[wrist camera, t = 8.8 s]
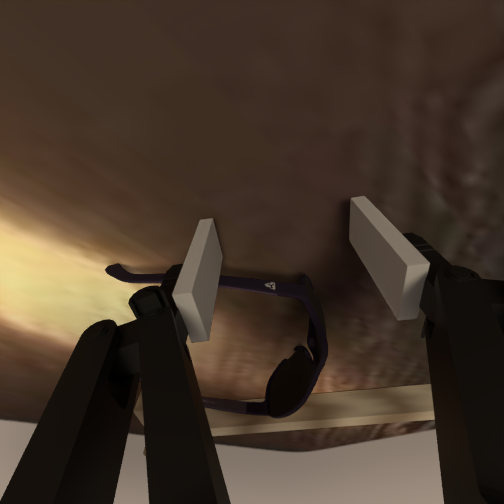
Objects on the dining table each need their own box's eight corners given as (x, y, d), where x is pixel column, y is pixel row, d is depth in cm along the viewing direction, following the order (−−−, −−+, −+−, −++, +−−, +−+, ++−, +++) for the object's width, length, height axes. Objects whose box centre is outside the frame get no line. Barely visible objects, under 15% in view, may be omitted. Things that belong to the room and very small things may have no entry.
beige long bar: (159, 416, 30) (147, 459, 26) (140, 385, 27) (124, 429, 23) (473, 390, 27) (505, 434, 24) (491, 352, 24) (530, 397, 21)
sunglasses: (293, 374, 26) (301, 431, 22) (127, 362, 25) (101, 418, 21) (332, 258, 19) (355, 308, 15) (102, 234, 18) (56, 280, 14)
